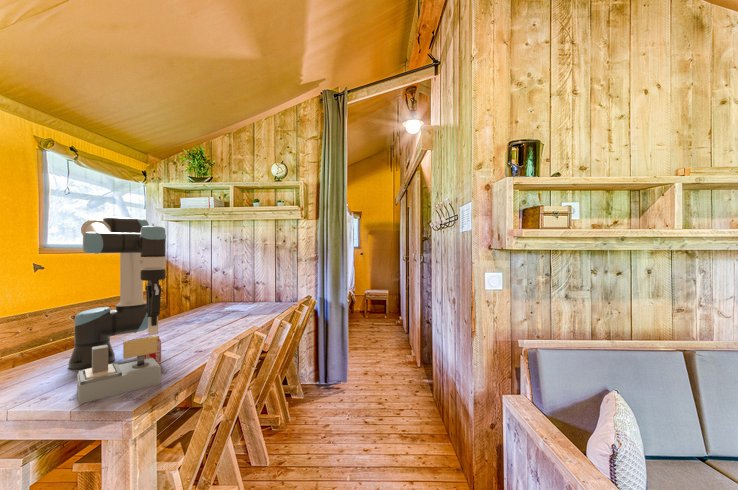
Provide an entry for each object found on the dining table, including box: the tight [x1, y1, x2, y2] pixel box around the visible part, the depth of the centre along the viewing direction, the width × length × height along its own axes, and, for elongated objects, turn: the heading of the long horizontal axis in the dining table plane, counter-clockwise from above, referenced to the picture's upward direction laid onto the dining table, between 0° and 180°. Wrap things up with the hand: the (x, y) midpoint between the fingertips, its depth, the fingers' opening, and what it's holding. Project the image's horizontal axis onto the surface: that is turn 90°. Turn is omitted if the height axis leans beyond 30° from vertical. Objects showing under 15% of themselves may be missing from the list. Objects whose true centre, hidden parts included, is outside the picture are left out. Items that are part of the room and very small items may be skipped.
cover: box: [84, 345, 116, 380], centre depth 108 cm, size 10×7×10 cm
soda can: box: [144, 335, 162, 365], centre depth 131 cm, size 7×7×12 cm
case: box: [76, 358, 162, 405], centre depth 111 cm, size 14×22×7 cm, turn 135°
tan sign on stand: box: [122, 335, 158, 366], centre depth 116 cm, size 2×10×10 cm, turn 135°
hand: (153, 334), depth 112 cm, fingers closed
